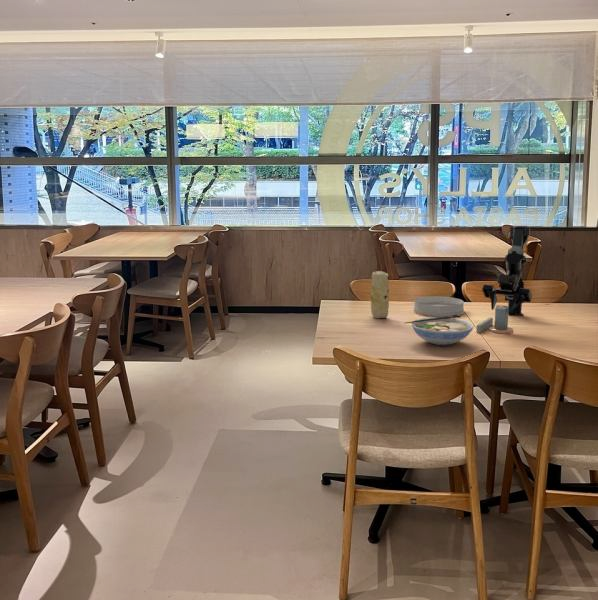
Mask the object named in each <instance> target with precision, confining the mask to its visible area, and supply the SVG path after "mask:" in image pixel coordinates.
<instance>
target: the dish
mask: <svg viewBox="0 0 598 600" xmlns="http://www.w3.org/2000/svg"><path fill="white" fill-rule="evenodd" d="M413 305H414V306H413V311H414V313H416V314H418V313H419V315H423V316H429V317H443V316H450V315H456V314H457V315H460V316H461V315H463V314H464V311H465V309H464V305H465V304H464V300H462V299H461V298H456V297H451V296H440V295H439V296H438V295H437V296H436V295H435V296H434V295H433V296H421V297H418V298H415V299H414V304H413Z"/></svg>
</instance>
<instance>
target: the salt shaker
mask: <svg viewBox="0 0 598 600" xmlns="http://www.w3.org/2000/svg"><path fill="white" fill-rule="evenodd" d="M494 310H495V311H494V326H495V327H494V329H496V330H507V329H508V326H509V325H508V324H509V315H508V311H509V309H508V305H495V307H494Z"/></svg>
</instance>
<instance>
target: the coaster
mask: <svg viewBox="0 0 598 600" xmlns="http://www.w3.org/2000/svg"><path fill="white" fill-rule="evenodd" d="M494 327H495V325H494V326H493V325H492V326H490V327H488V331H489V332H490V333H494V332H495V333H494V334H503V333H504V334H511V333H510V332H512V331H513V332H514V329H513V328H512V327H510V326H509V327H508V329H507V330H496V329H494ZM513 332H512V333H513Z"/></svg>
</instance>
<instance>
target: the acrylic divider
mask: <svg viewBox="0 0 598 600" xmlns="http://www.w3.org/2000/svg"><path fill="white" fill-rule="evenodd" d="M493 321H494V317H488V318H486V319H485V320H482V322H480V323H478V324H477V325H476V333H477V334H480V333H482V332H484V331H485V330H487V329H489V328H490V327H493V323H494V322H493Z"/></svg>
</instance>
